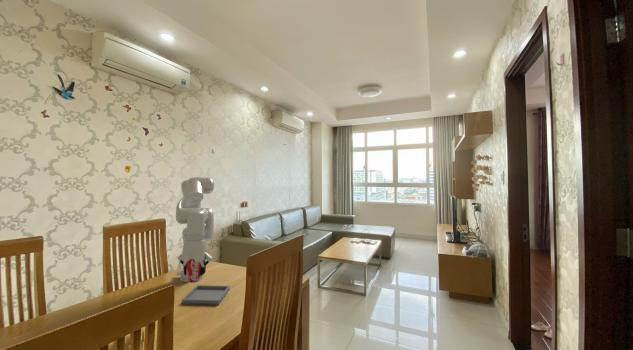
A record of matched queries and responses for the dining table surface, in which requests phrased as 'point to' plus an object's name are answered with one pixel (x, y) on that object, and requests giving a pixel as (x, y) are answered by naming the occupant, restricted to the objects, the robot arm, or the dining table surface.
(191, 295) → the tray
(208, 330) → the dining table surface
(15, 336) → the dining table surface
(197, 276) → the soda can
